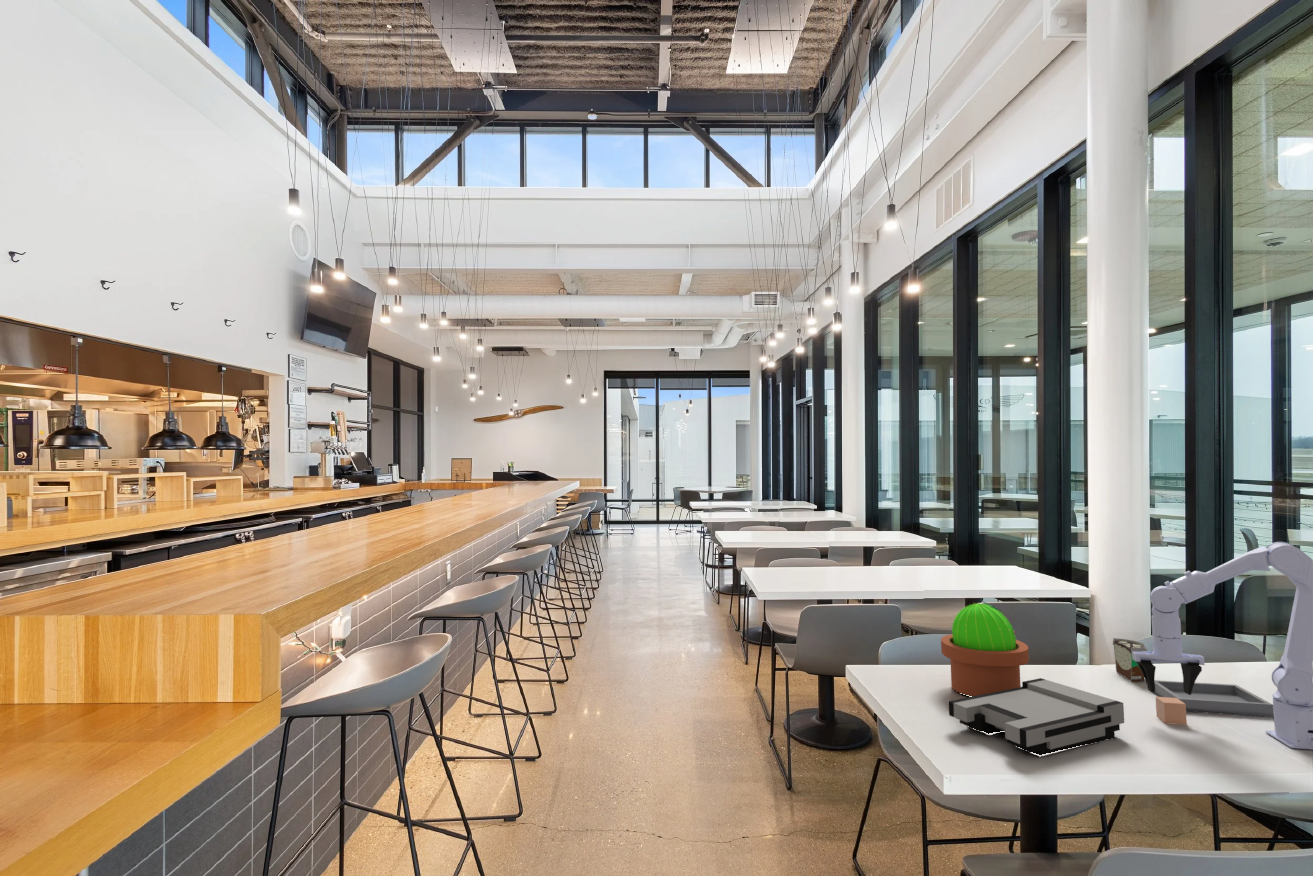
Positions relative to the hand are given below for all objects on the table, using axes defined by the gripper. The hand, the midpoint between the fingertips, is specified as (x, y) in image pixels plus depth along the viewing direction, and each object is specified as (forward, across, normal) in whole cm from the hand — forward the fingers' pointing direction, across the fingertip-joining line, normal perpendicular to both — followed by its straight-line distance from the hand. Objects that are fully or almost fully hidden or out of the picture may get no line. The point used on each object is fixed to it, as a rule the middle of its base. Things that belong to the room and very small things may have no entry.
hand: (1169, 692), depth 165 cm
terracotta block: (+7, 0, 0) cm, 7 cm away
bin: (+7, -15, -16) cm, 23 cm away
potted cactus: (+7, +39, -14) cm, 42 cm away
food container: (+7, -6, -37) cm, 38 cm away
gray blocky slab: (+8, +34, +16) cm, 38 cm away
